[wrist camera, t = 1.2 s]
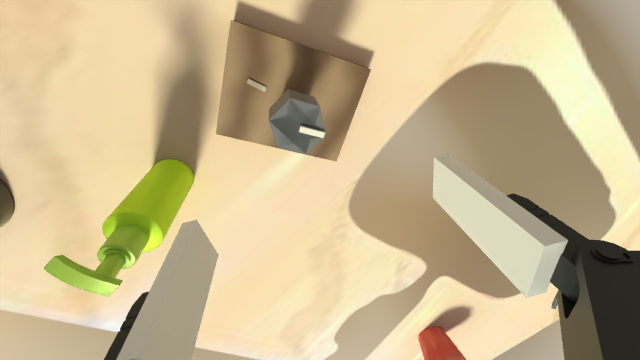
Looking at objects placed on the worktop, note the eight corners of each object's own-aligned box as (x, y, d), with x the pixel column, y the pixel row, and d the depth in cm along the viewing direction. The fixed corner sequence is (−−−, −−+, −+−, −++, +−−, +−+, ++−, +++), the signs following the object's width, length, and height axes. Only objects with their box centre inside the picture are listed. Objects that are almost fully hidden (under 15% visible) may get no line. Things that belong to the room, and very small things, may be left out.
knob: (264, 130, 30) (262, 145, 26) (274, 84, 27) (274, 94, 23) (313, 142, 31) (319, 158, 27) (326, 100, 29) (335, 111, 25)
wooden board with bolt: (218, 129, 37) (206, 151, 30) (233, 20, 31) (221, 18, 24) (333, 156, 42) (345, 180, 35) (366, 67, 36) (387, 76, 29)
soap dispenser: (160, 146, 37) (62, 246, 20) (201, 175, 40) (148, 283, 23) (137, 172, 38) (26, 286, 21) (179, 198, 41) (112, 315, 24)
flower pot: (436, 318, 73) (456, 355, 65) (453, 330, 78) (474, 365, 70) (406, 337, 76) (423, 374, 68) (424, 346, 81) (442, 382, 73)
